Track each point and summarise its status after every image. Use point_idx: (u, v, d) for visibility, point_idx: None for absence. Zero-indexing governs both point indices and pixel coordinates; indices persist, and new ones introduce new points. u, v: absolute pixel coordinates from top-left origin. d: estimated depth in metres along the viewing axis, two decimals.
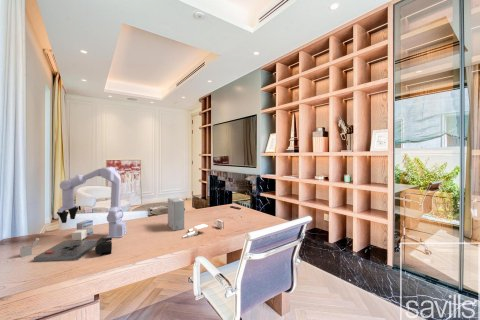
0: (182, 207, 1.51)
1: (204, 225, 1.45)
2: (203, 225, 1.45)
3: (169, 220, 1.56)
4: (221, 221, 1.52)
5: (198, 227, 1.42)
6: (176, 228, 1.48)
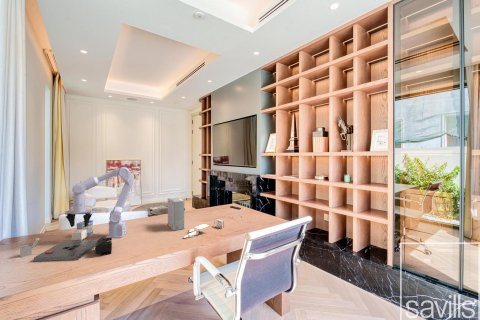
0: (182, 207, 1.51)
1: (205, 225, 1.45)
2: (204, 225, 1.45)
3: (169, 220, 1.56)
4: (221, 221, 1.52)
5: (199, 227, 1.42)
6: (176, 228, 1.48)
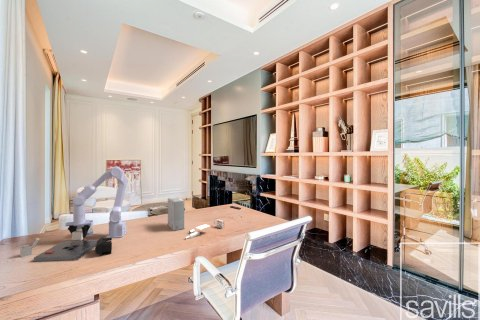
0: (182, 207, 1.51)
1: (205, 225, 1.45)
2: (204, 225, 1.45)
3: (169, 220, 1.56)
4: (221, 221, 1.53)
5: (200, 227, 1.41)
6: (176, 228, 1.48)
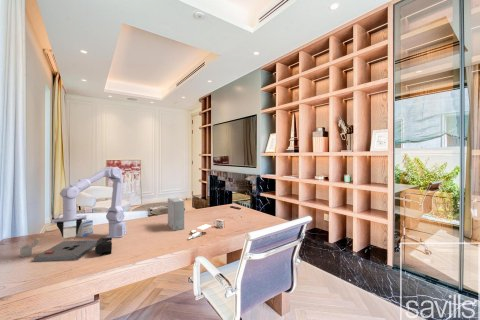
0: (182, 207, 1.51)
1: (207, 225, 1.45)
2: (206, 225, 1.45)
3: (169, 220, 1.56)
4: (222, 220, 1.53)
5: (202, 228, 1.41)
6: (176, 228, 1.48)
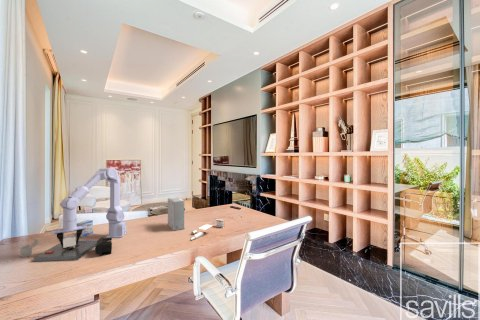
0: (182, 207, 1.51)
1: (208, 225, 1.45)
2: (207, 225, 1.44)
3: (169, 220, 1.56)
4: (222, 220, 1.54)
5: (203, 228, 1.41)
6: (176, 228, 1.48)
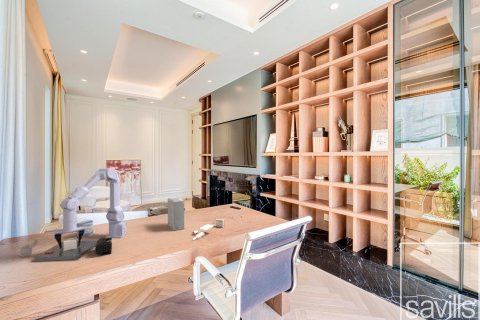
0: (182, 207, 1.51)
1: (209, 225, 1.44)
2: (208, 225, 1.44)
3: (169, 220, 1.56)
4: (222, 220, 1.54)
5: (204, 228, 1.40)
6: (176, 228, 1.48)
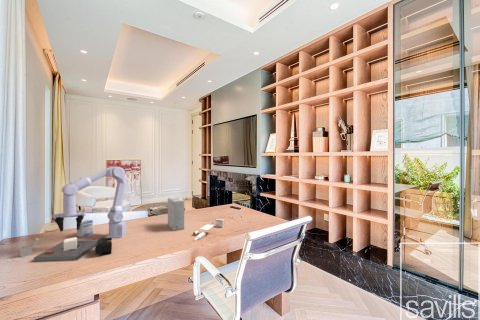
0: (182, 207, 1.51)
1: (209, 225, 1.44)
2: (208, 225, 1.44)
3: (169, 220, 1.56)
4: (222, 220, 1.55)
5: (205, 228, 1.40)
6: (176, 228, 1.48)
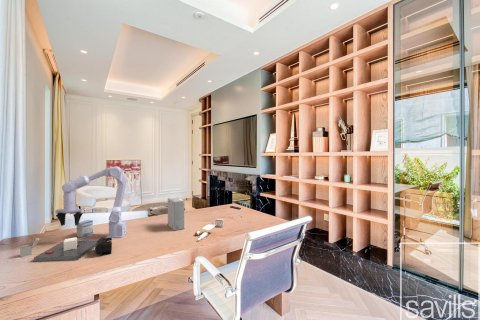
0: (182, 207, 1.51)
1: (211, 225, 1.45)
2: (210, 225, 1.44)
3: (169, 220, 1.56)
4: (222, 219, 1.55)
5: (207, 228, 1.40)
6: (176, 228, 1.48)
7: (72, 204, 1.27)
